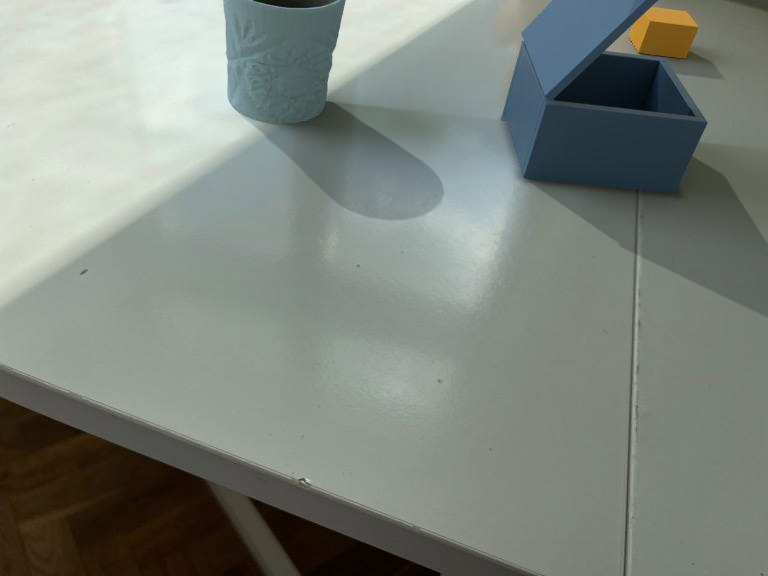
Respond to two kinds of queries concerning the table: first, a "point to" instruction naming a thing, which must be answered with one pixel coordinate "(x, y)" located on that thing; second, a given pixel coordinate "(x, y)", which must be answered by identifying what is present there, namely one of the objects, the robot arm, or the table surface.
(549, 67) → the lid
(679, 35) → the cheese pack
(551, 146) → the cool box
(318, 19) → the embossed flower pot
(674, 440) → the table surface
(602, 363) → the table surface
